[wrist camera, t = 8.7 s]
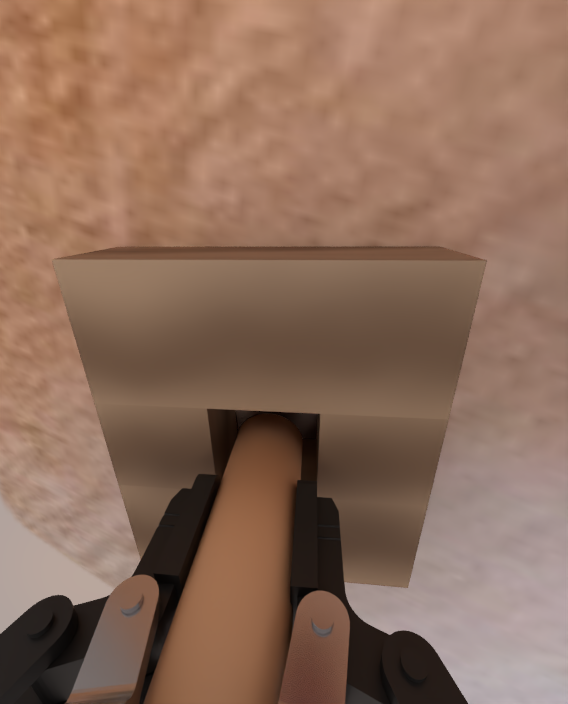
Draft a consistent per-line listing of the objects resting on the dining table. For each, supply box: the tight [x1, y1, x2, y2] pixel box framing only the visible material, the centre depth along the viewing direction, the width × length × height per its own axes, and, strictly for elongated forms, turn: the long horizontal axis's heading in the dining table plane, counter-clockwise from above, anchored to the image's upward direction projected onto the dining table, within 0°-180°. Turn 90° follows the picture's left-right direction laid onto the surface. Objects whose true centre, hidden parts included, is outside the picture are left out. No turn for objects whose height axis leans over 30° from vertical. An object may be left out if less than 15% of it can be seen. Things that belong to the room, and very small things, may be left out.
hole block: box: [52, 247, 487, 588], centre depth 15 cm, size 16×14×4 cm
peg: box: [143, 414, 303, 704], centre depth 10 cm, size 3×3×10 cm
